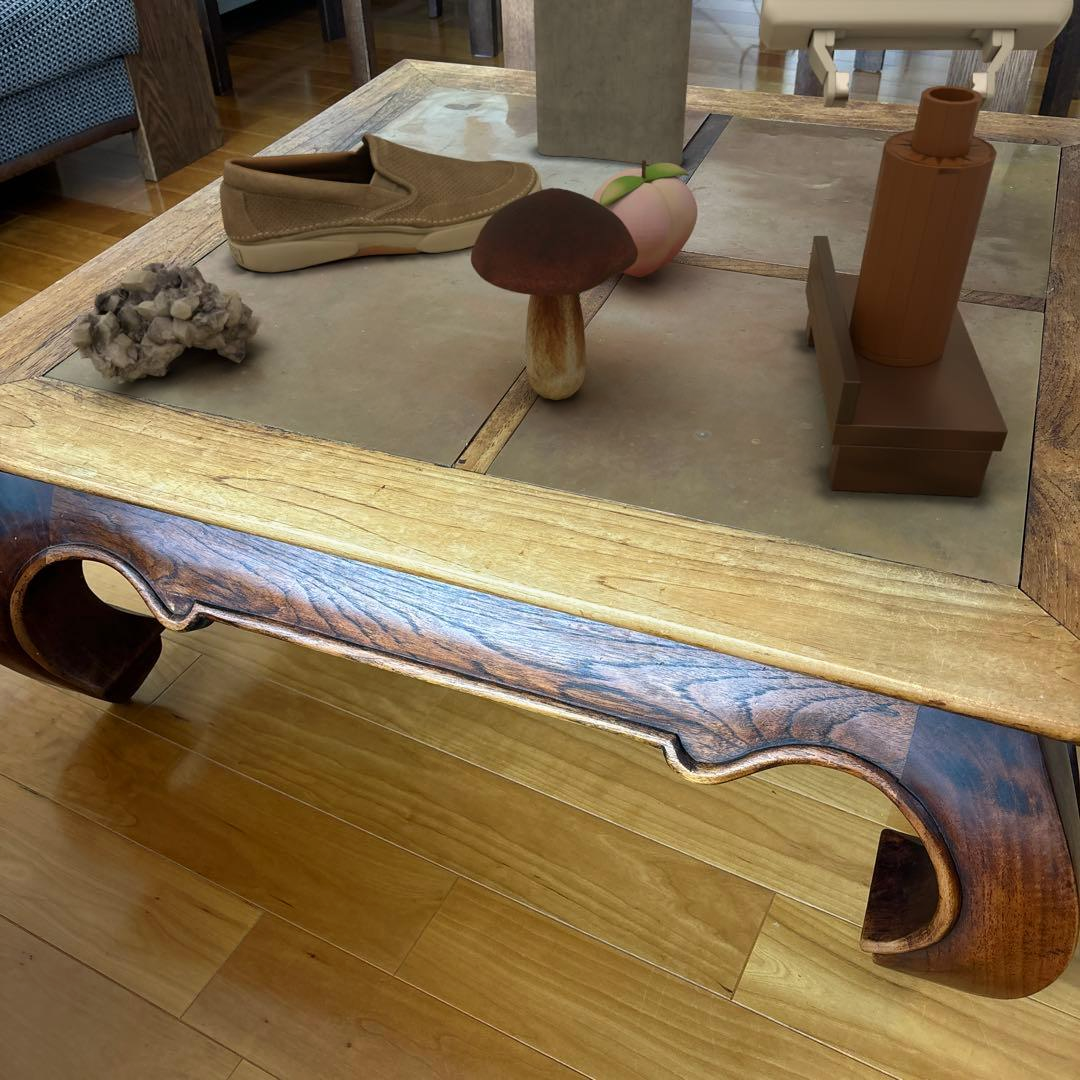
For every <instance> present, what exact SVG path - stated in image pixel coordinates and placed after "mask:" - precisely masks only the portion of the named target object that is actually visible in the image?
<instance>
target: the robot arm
mask: <svg viewBox="0 0 1080 1080" xmlns="http://www.w3.org/2000/svg"><path fill="white" fill-rule="evenodd" d="M1073 8H1074V0H762V1H761V7H760V12H759V13H760V15H759V23H758V34H757V35H758V37H759V39H760V40H761V42H762V43H763V44H764V46H765V47H766V48H767V49H768V50H770V51H771V50H772V51H808V64H809V66H810V68H811V70H812V71H813V73H814V75H815V76H816V78H817V79H818V81H819V83H820V84H821V86H823V96H822V97H823V98H822V99H823V100H822V105H823V108H830V109H831V108H833V109H834V108H838V109H839V108H840V109H841V108H846V107H847V103H848V102H849V99H850V89H851V87H850V86H849V85H850V82H851V71H839V69H838V68H837V66H836V64H835V62H834V60H833V58H832V52H833V51H982V62H983V64H989V66H988V67H987V69H986V70H985V71H982V72H979V71H977V72H972V74H971V75H970V77H969V80H968V81H966V82H965V85H964V87H965V88H969V89H972V90H974V91H977V92H979V93H980V94H981V96H982V97H983V98H982V102H981V106H980V110H984V109H985V110H987V109H989V107H990V106H991V104H992V103H993V102H994V98H995V94H996V75H997V74H998V73H999V71H1000V69H1001V68H1002V66H1003V65H1004V63H1005V61H1006V60H1007V58H1008V57H1009V56H1010V54H1011V52H1012V51H1041V50H1044V49H1046V48H1047V47H1048V46H1049V45H1050V44H1051V43H1052V42H1053V41H1054V40H1055V39H1056V38H1057V37H1058V35H1060V33H1061V32H1062V31H1063V29H1064V28H1065V26H1066V25H1067V23H1068V21H1069V19H1070V17H1071V15H1072V13H1073Z"/></svg>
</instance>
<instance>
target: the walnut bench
mask: <svg viewBox="0 0 1080 1080" xmlns="http://www.w3.org/2000/svg"><path fill="white" fill-rule="evenodd" d="M858 279H859V274H837V272H836V267H835V262H834V258H833V255H832V251H831V246H830V241H829V237H828V236H827V235H814V236H813V239H812V245H811V252H810V260H809V264H808V270H807V278H806V282H805V283H806V284H805V291H804V292H805V297H806V303H807V310H808V312H807V313H808V314H807V318H806V319H807V321H806V327H805V332H804V333H805V339H806V344H807V346H809V347H811V346H812V347H814V349H815V354H816V360H817V361H816V362H817V366H818V372H819V377H820V383H821V389H822V396H823V401H824V406H825V412H826V418H827V423H828V429H829V435H830V440H831V444H832V450H831V455H830V460H829V464H828V465H829V466H828V471H827V472H828V477H829V484H830V489H831V491H849V492H867V493H868V492H870V493H890V494H911V495H912V494H914V495H931V496H932V495H933V496H953V497H954V496H955V497H957V496H958V497H976V498H978V497H979V495H980V493H981V489H982V486H983V483H984V481H985V477H986V475H987V474H986V473H987V470H988V467H989V464H990V461H991V458H992V455H993V452H1002V451H1003V448H1004V446H1005V442H1006V439H1007V435H1008V433H1009V432H1008V428H1007V426H1006V423H1005V421H1004V418H1003V416H1002V413H1001V411H1000V409H999V406H998V404H997V400H996V399H995V396H994V393H993V391H992V388H991V386H990V383H989V381H988V378H987V376H986V373H985V371H984V368H983V367H982V363H981V362H980V359H979V357H978V354H977V352H976V348H975V347H974V344H973V341H972V339H971V336H970V334H969V332H968V329H967V327H966V324H965V321H964V320H963V316H962V314H961V312H960V309H959V307H958V306H957V307H956V310H955V314H954V318H953V322H952V326H951V329H950V333H949V337H948V341H947V343H946V346H945V350H944V353H943V354H942V356H941V357H940V358H939V359H937V360H936V361H934V362H932V363H929V364H926V365H922V366H915V367H897V366H890V365H885V364H881V363H877V362H874V361H871V360H869V359H867V358H865V357H863V356H861V355H860V354H858V353H857V352H856V351H855V350H854V349H853V345H852V341H851V336H850V332H849V327H850V321H851V316H852V311H853V306H854V300H855V295H856V290H857V285H858Z"/></svg>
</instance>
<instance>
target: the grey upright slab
mask: <svg viewBox="0 0 1080 1080" xmlns="http://www.w3.org/2000/svg"><path fill="white" fill-rule="evenodd" d="M692 14H693V0H533V29H534V58H535V59H534V63H535V64H534V65H535V66H534V67H535V94H536V95H535V97H536V99H535V101H536V104H535V105H536V136H537V153H539V154H540V155H543V156H547V157H571V158H572V157H575V158H587V159H598V160H608V161H615V162H616V161H617V162H626V163H633V164H637V165H642V160H646V166H650V165H653V164H657V163H671V164H675V165H678V166H680V167H681V166H682V164H683V158H684V157H683V156H684V142H685V141H684V138H685V125H686V123H685V122H686V109H687V93H688V92H687V91H688V79H689V78H688V77H689V63H690V62H689V61H690V45H691V33H692V32H691V31H692V17H693V15H692Z"/></svg>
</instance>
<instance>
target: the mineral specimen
mask: <svg viewBox="0 0 1080 1080" xmlns="http://www.w3.org/2000/svg"><path fill="white" fill-rule="evenodd" d="M93 302H94V305H93V313H92V312H88V311H85V312H84V313H83V315H81V316H78V318H77V320H76V322H75V323H74V326H73V327H72V329H71V333H70V337H69V338H70V342H71V345H73V346H75V347H76V348H77V349H78V353H79V355H80V356H79V357H80V359H81V360H84V359H89V360H91V363H92V366H93V368H94V370H95V371H96V372H99V373H100V374H101V376H102V378H103V379H106V380H110V379H112V378H113V379H114V378H116V379H117V383H118V384H124V383H126V382H131V383H133V382H135V381H136V380H137V379H145V378H147V376H148V375H149V376H154V377H164V376H165V375H167V373H168V372H169V371H170V370H171V367H170V366H169V365H170V363H171V362H172V361H173V360H174V359H176V358H178V357H180V356H182V354H183V352H184V350H185V349H186V347H187V348H189V349H191V348H192V347H194V348H200V349H204V350H206V351H207V350H210V351H212V350H214V349H216V351H217V354H218V355H220V356H223V357H225V358H227V359H228V360H230V361H232V362H234V363H237V364H240V363H241V362H242V361H243V360H244V359H245V357H246V348H245V340H250V339H253V338H254V336H255V335H256V334H257V332H258V331H259V329H260V327H261V325H262V323H263V317H262V316H258V315H257V316H253V309H251V307H249V306H248V305H247V304H245V303H244V302H243V301H242V296H241V295H240V294H239V293H238V291H237V290H228V289H227V290H222V291H220V289H219V286H218V285H217V284H216V283H214V282H206V280H205V278H204V276H203V274H202V272H201V271H200V270H199V268H198V266H197V265H189V266H188V265H182V267H180V266H178V265H177V264H176V265H175V266H174V267H172V268H171V269H169V270H168V269H167V268H166V265H165V264H164V263H163V262H160V261H159V262H150V263H148V264H147V265H145V266H144V267H143V268H142V269H131V270H129V271H126V273H125V274H124V276H123V279H122V280H121V281H120V282H119V283H118V284H117V285H116V286H115V287H114V288H112V289H109V290H106V291H103V292H100V293H99V294H97V293H95V297H94V300H93Z"/></svg>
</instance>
